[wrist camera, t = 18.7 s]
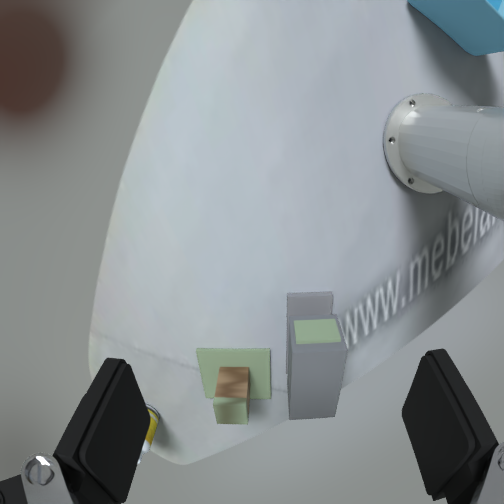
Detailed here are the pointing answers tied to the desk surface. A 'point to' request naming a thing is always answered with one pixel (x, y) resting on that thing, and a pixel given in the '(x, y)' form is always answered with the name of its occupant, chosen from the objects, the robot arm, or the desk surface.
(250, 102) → the desk surface
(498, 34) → the data package
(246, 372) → the brown and green block
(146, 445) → the pill bottle
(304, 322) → the mounted unit
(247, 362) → the mat
